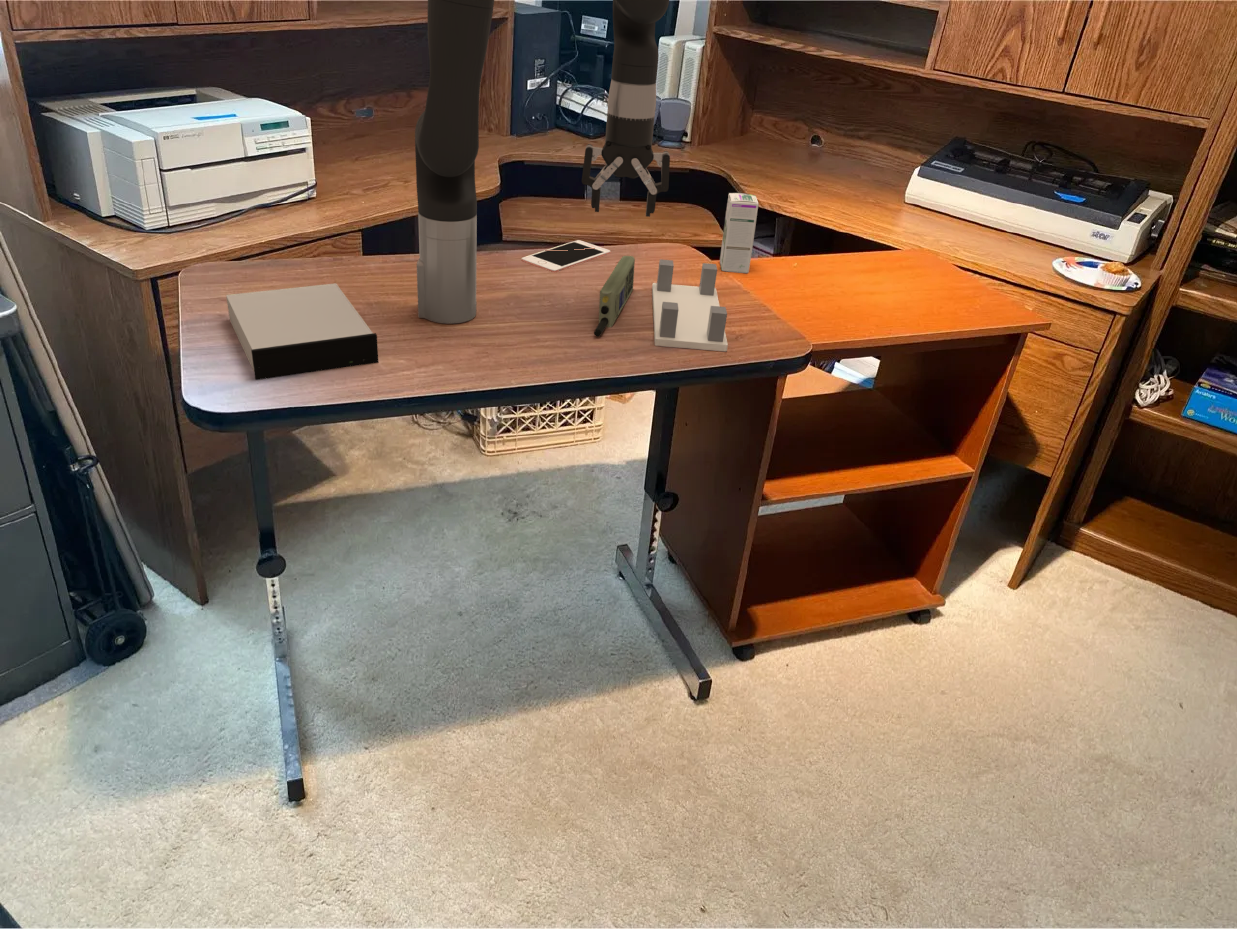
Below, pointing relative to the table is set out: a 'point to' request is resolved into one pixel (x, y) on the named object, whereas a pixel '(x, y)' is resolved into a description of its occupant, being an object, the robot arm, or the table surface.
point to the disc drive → (300, 330)
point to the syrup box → (738, 232)
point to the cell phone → (565, 256)
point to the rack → (688, 311)
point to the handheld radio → (615, 293)
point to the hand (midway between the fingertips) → (622, 213)
